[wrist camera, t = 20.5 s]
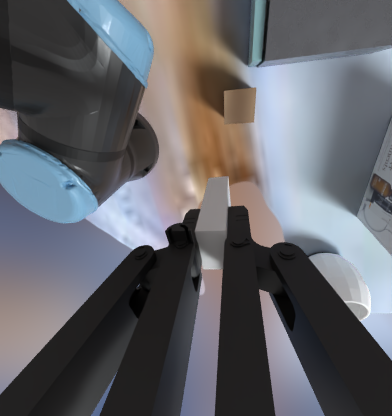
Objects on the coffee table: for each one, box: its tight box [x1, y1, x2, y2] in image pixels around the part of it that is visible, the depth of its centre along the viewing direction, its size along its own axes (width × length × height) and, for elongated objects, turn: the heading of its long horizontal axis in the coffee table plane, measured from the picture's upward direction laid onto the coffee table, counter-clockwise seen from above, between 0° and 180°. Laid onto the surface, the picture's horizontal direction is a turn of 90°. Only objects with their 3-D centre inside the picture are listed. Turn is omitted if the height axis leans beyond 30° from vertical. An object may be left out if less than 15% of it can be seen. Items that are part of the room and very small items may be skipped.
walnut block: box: [224, 88, 256, 124], centre depth 31 cm, size 4×4×7 cm
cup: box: [308, 253, 371, 321], centre depth 45 cm, size 13×13×14 cm
